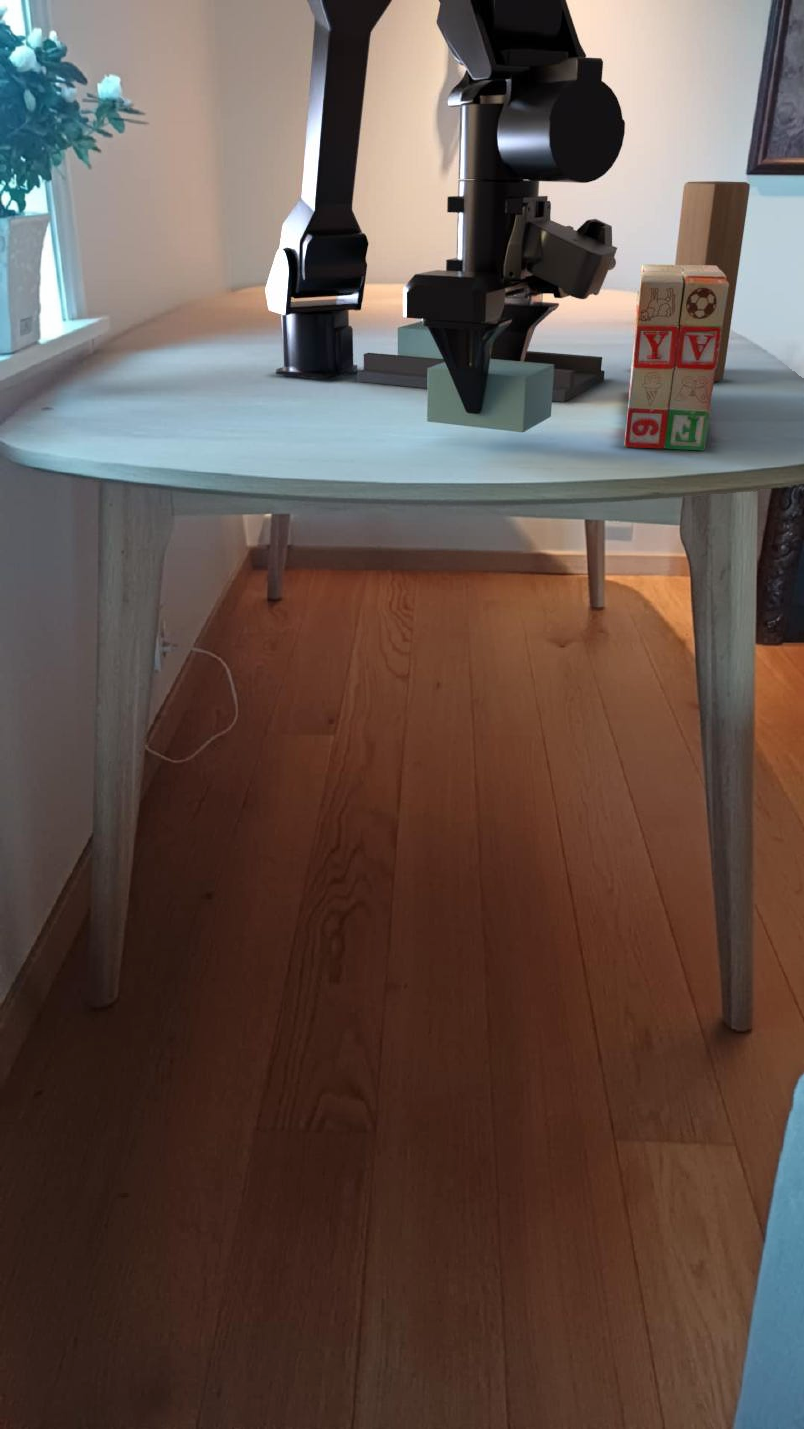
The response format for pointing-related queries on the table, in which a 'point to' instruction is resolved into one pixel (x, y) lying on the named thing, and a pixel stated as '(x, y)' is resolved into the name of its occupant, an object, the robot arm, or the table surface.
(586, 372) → the pad jig
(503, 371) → the grey-green rectangular block
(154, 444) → the table surface
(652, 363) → the stack of blocks
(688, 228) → the wooden block
